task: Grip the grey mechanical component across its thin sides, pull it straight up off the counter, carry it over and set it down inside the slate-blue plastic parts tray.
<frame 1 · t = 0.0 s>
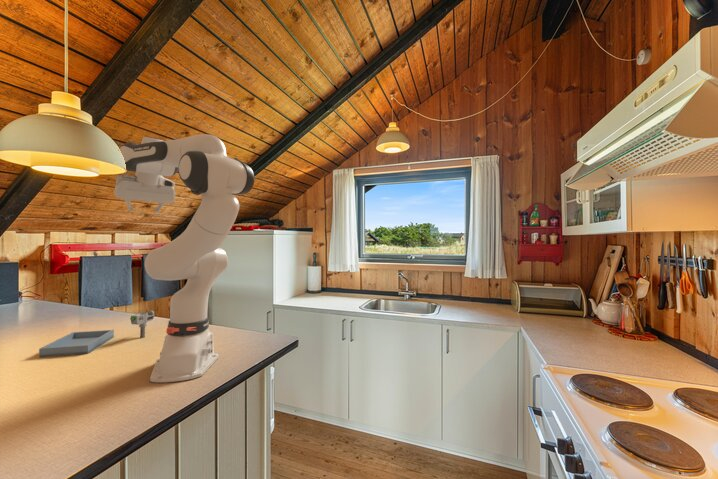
hand: (143, 211, 120), 52 cm above the table, tool tilted 20°, fingers open, 8 cm apart
parts tray: (79, 346, 110), on the table
mechanical component: (142, 337, 121), on the table
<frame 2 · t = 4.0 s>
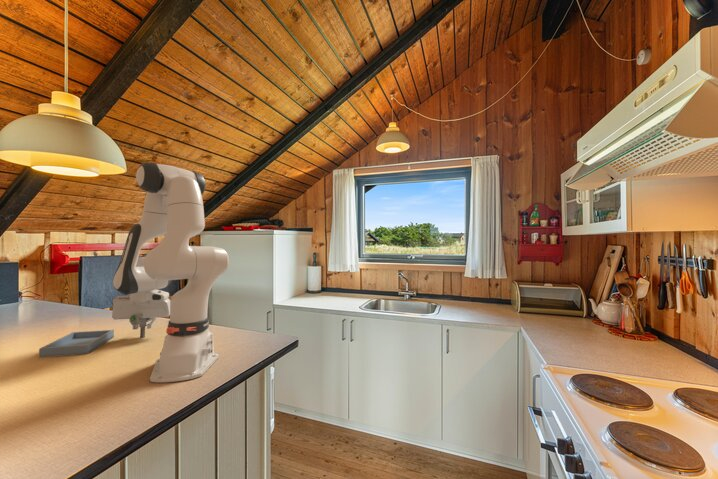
hand: (142, 328, 121), 4 cm above the table, tool pointing down, fingers closed on mechanical component, 4 cm apart
mechanical component: (142, 337, 121), on the table, touching gripper
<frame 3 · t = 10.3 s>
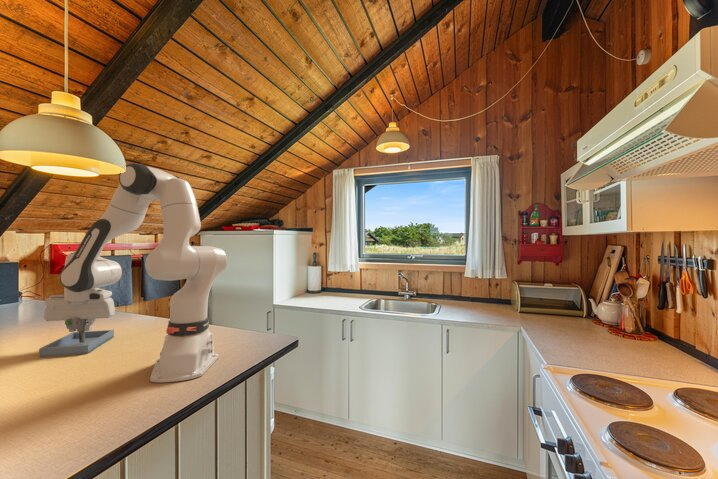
hand: (80, 330, 110), 6 cm above the table, tool pointing down, fingers closed on mechanical component, 3 cm apart
mechanical component: (82, 343, 111), point 1 cm above the table, touching gripper
when the fingers open (6 cm above the table, at t = 10.7 s): mechanical component moves 3 cm, resting on parts tray.
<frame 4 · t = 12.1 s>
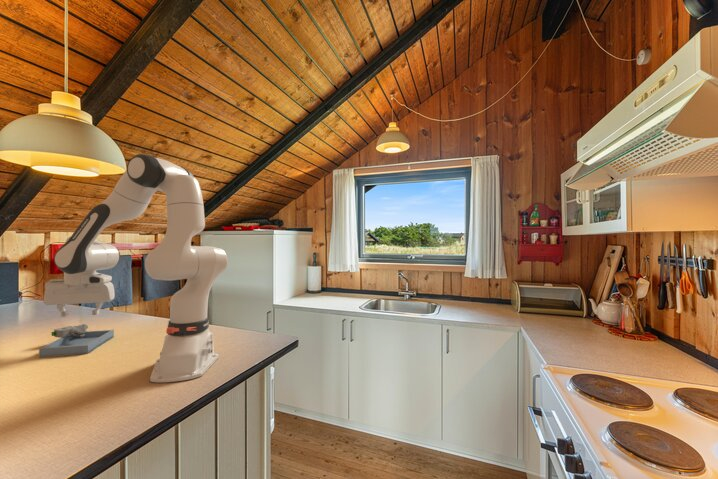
hand: (80, 315, 110), 12 cm above the table, tool pointing down, fingers open, 8 cm apart
mechanical component: (83, 334, 111), point 4 cm above the table, touching parts tray
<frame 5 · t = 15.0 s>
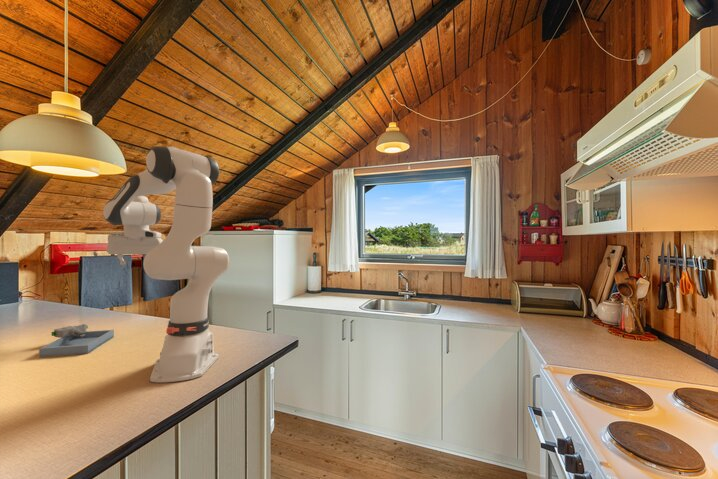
hand: (136, 264, 128), 29 cm above the table, tool pointing down, fingers open, 8 cm apart
nothing on the table moved.
at the end: mechanical component inside the target area on the parts tray (0.9 cm from its centre), point 4.2 cm above the parts tray's base; mechanical component touching parts tray; the gripper is holding nothing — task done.
